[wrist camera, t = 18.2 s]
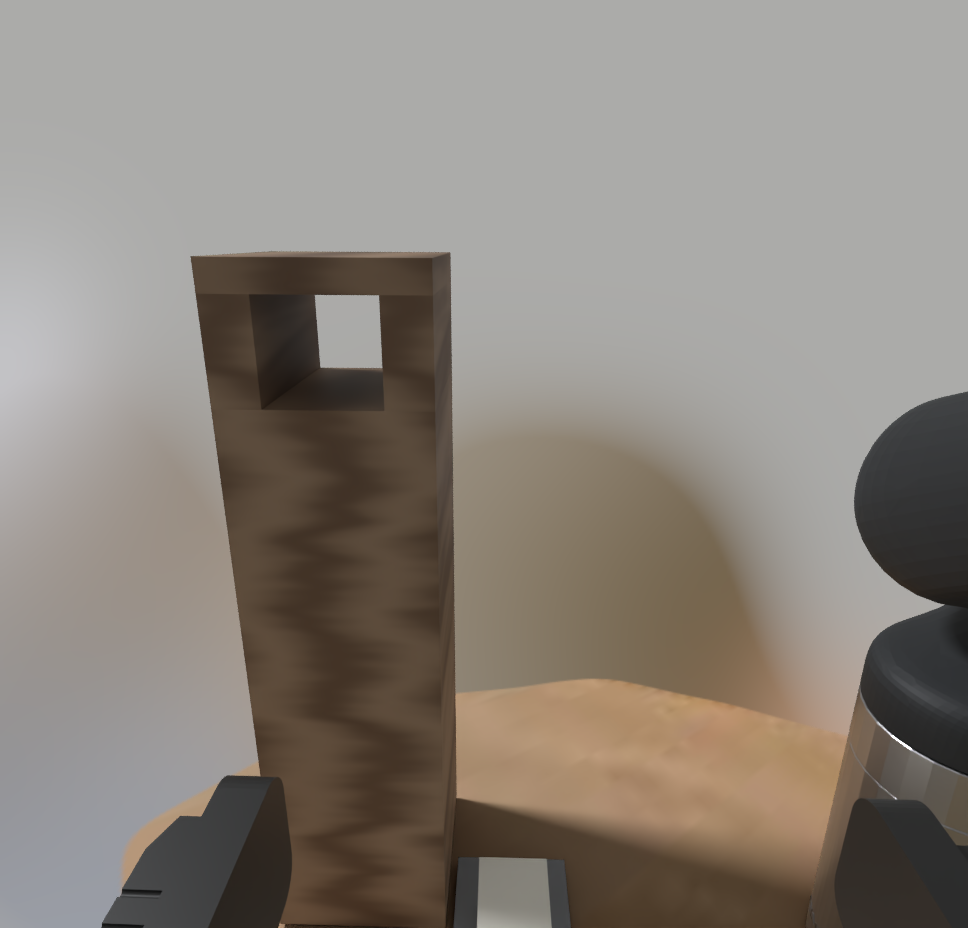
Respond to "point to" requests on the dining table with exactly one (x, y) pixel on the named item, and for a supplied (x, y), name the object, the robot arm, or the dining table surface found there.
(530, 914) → the plug bar
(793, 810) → the dining table surface
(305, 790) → the socket tower
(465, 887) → the mat
